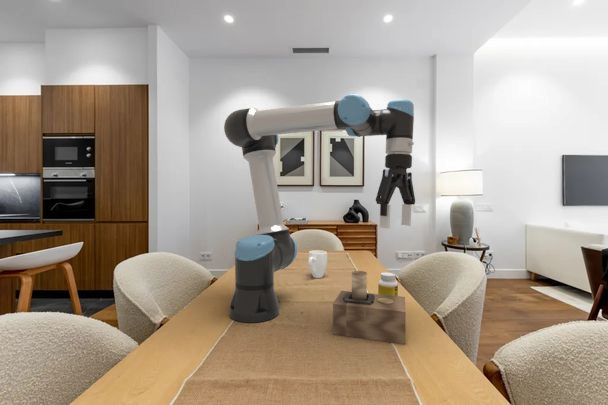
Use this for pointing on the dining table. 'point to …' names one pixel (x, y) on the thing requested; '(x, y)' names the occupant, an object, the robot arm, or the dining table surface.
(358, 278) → the oak peg
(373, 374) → the dining table surface
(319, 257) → the mug
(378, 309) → the socket block
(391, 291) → the pill bottle
